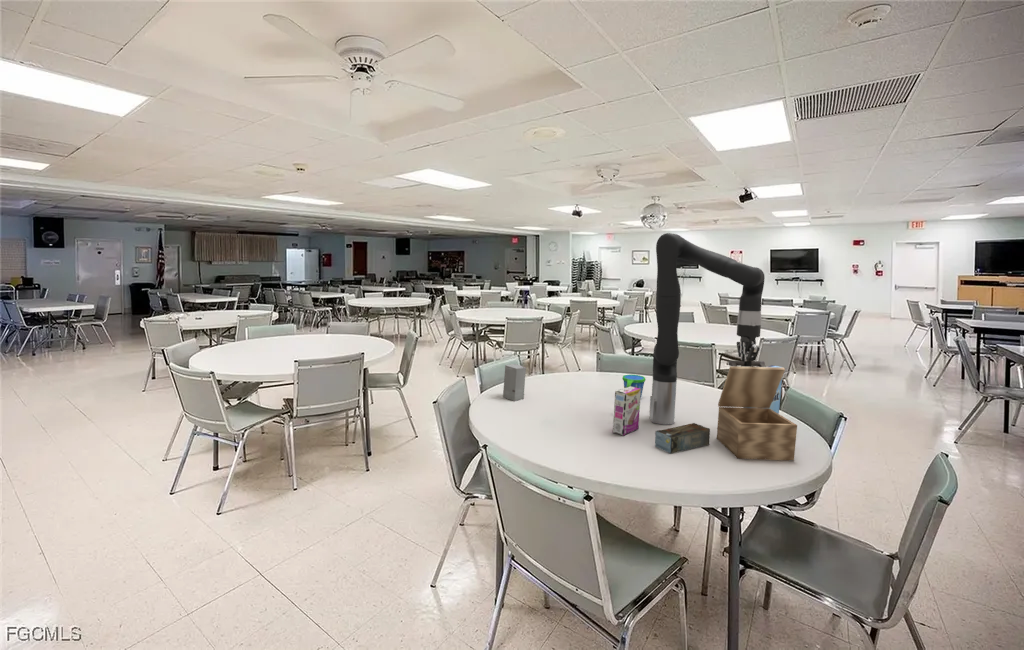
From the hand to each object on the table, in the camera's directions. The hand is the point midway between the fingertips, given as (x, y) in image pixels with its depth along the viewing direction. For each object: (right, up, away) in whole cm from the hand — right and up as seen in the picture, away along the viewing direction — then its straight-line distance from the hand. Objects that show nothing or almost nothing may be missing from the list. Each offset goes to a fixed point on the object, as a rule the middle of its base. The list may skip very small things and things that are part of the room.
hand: (746, 370), depth 167 cm
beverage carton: (-25, -26, -4) cm, 36 cm away
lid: (0, -6, -4) cm, 7 cm away
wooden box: (-1, -27, -7) cm, 27 cm away
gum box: (+16, -24, +19) cm, 34 cm away
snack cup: (-26, -19, +55) cm, 64 cm away
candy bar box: (-41, -24, +9) cm, 49 cm away
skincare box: (-84, -18, +52) cm, 100 cm away
